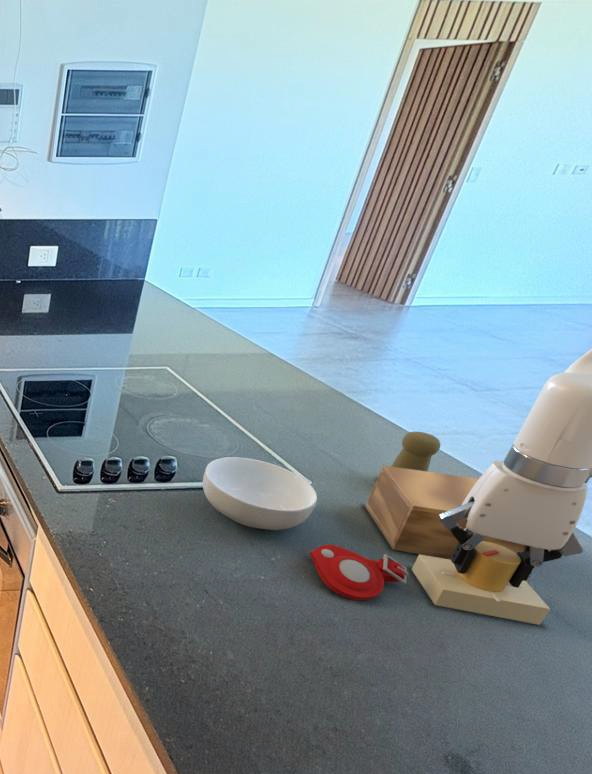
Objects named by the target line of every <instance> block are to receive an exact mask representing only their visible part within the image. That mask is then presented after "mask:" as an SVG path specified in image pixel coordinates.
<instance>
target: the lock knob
mask: <svg viewBox="0 0 592 774" xmlns="http://www.w3.org/2000/svg"><path fill="white" fill-rule="evenodd" d="M474 550H475V552H476V555H475V557H474V559H473V560H472V562H471V564H470V566H469V568H468V569H467V571H466V573H464V574H461V573H459V575H460V576H461V577H462V578H463V579H464V580H465V581H466V582H468V583H470V584H471V585H473V586H475V587H478V588H480V589H483V590H487V591H492V592H500V591H503V590H504V589H505V587H506V586H507V584H508V582H509V581H510V579H511V577H512V576H513V574H514V572H515V571H516V569H517V567H518V566H519V564H520V562H521V559H520V557H519V556H518V555H517V554H516V553H515V552H513V551H511V550H510V549H508V548H506V547H503V546H501V545H498V544H495V543H491V542H486V541H482V542H480V543H479V544H478V545H477V546H476V547H475V548H474Z"/></svg>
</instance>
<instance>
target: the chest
mask: <svg viewBox="0 0 592 774" xmlns="http://www.w3.org/2000/svg"><path fill="white" fill-rule="evenodd" d="M364 507H365V509H366V510H367V512H368V513H369V515H370V516H371V518H372V519H373V521H374V522H375V524H376V526H377V527H378V529H379V530H380V532H381V533H382V535H383V537H384V538H385V540H386V541H387V543H388V544H389V545H390V547H391V549H392V550H393V551H399V552H405V553H410V554H411V553H412V554H417V555H425V556H431V557H437V558H443V559H449V560H451V556H452V554H453V552H454V550H455V548H456V546H457V545H458V543H459V542H458V540H457V539H456V538H455V537H454V535H453V534H452V532H451V531H450V530H448V529H447V528H446V527H445V526H444V525H443V524H442V523H441V521H440V519H439V515H440V514H436V513H430V512H423V511H417V510H412V509H411V508H410V506H409V505H408V504H407V502H406V501H405V500H404V498H403V497H402V496H401V494H400V493H399V492H398V491H397V489H396V488H395V487H394V485H393V484H392V483H391V481H390V480H389V479H388V477H387V476H386V475H385V473H384V472H383V471H382V469H381V470H380V472H379V473H378V476H377V478H376V481H375V483H374V485H373V488H372V489H371V492H370V495H369V496H368V499H367V501H366V503H365V506H364ZM467 521H468V520H467V519H466V518H464V519H462V520H459V521H457V523H458V524H459V525H460V526H461V527H462V528H463V529H464V528H466V524H467ZM483 541H486V542H491V543H495V544H498V545H501V546H503V547H506V548H508V549H510V550H511V551H513V552H515V553H518V552H521V553H522V552H523V549H524V545H522V544H518V543H513V542H509V541H505V540H500V539H496V538H492V537H486V538H485V539H484V540H483Z"/></svg>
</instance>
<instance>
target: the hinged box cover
mask: <svg viewBox="0 0 592 774" xmlns="http://www.w3.org/2000/svg"><path fill="white" fill-rule="evenodd" d="M391 466H392V465H391ZM391 466H390V465H382V467H381V470H382V471H383V472H384V473H385V475H386V476H387V477H388V479H389V480H390V481H391V483H392V484H393V485H394V487H395V488H396V489H397V491H398V492H399V493H400V494H401V496H402V497H403V498H404V500H405V501H406V502H407V504H408V505H409V506H410V508H411V509H412V510H417V511H423V512H430V513H436V514H442V513H444V512H447V511H449V510H452V509H454V508H457V507H459V506H461V505H462V503H463V502H464V500H465V498H466V497H467V495H468V494H469V492H470V491H471V489H472V488H473V486H474V485H475V483H476V482H477V481H478V479H479V478H478V477H471V476H469V477H468V476H463V475H456V474H448V473H441V472H434V471H428V472H427V471H420V470H412V469H405V468H398V467H391Z"/></svg>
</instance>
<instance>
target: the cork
mask: <svg viewBox="0 0 592 774" xmlns="http://www.w3.org/2000/svg"><path fill="white" fill-rule="evenodd" d="M401 445H402V447H403V448H402V449H401V450H400V451H399V453H398V455H397V457H396V458H395V459H394V461H393V463H392V464H391V467H398V468H405V469H412V470H420V471H427V472H429V471H428V470H429V468H430V465H431V460H432V456H434V455H436V453H438V451H440V448H441V442H440V439H438V437H436V436H435V435H433V434H430V433H427V432H424V431H423V432H422V431H410V432H407V433H406V434H405V435H404V436H403V438H402V440H401Z"/></svg>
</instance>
